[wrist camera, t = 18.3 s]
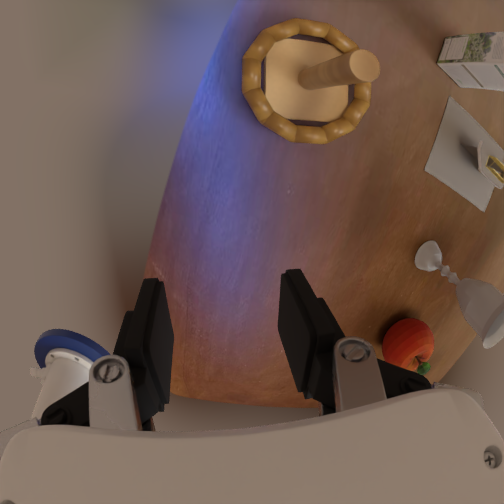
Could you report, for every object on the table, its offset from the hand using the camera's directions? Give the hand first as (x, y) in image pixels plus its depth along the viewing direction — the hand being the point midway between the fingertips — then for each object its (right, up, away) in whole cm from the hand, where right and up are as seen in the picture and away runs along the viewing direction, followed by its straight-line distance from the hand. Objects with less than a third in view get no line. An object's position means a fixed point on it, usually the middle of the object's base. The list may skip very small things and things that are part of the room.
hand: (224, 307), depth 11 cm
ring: (+7, +19, +13) cm, 24 cm away
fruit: (+27, -12, +34) cm, 45 cm away
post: (+7, +20, +15) cm, 26 cm away
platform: (+34, +16, +21) cm, 44 cm away
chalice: (+28, +2, +28) cm, 40 cm away
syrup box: (+29, +28, +14) cm, 43 cm away
